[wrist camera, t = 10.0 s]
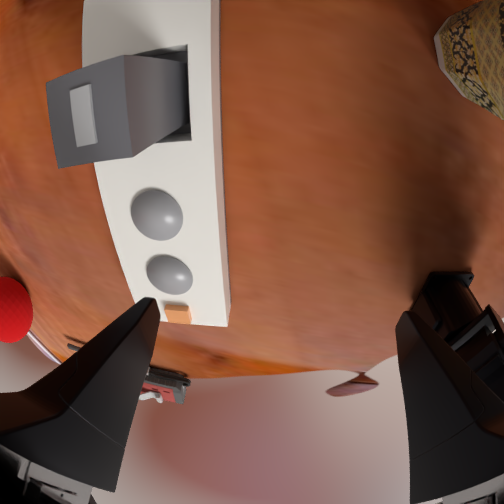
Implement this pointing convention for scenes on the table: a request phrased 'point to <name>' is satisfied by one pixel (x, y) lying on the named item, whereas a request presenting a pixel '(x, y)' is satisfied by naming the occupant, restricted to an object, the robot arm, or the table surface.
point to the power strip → (169, 162)
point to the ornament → (14, 310)
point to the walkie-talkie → (160, 384)
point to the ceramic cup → (475, 53)
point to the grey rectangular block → (116, 108)
